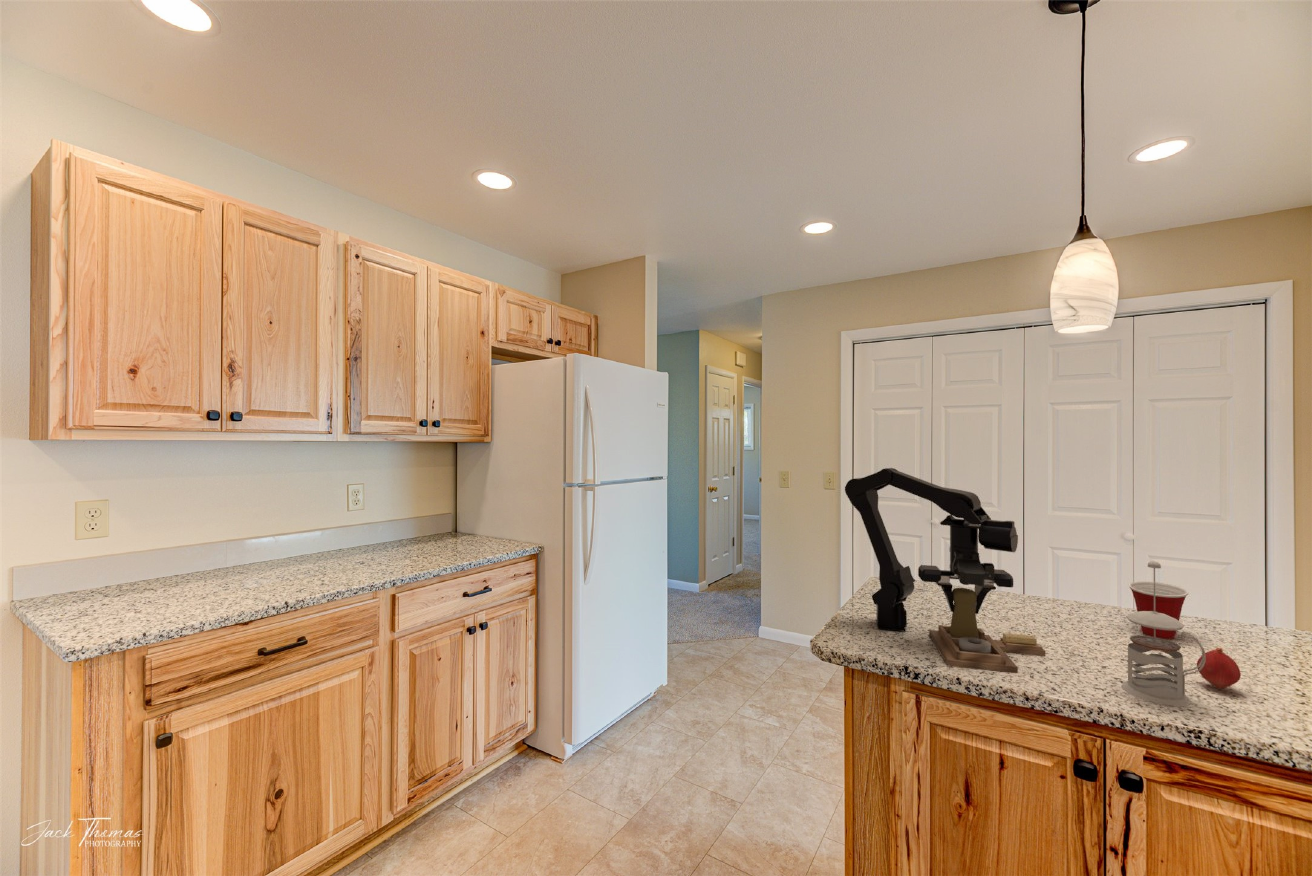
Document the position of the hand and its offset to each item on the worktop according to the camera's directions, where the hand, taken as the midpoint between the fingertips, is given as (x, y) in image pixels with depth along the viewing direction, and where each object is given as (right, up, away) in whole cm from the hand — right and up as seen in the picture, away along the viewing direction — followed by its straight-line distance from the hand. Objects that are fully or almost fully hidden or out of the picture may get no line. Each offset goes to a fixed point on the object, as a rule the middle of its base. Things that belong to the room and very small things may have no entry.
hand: (963, 612), depth 126 cm
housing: (+3, -8, -5) cm, 10 cm away
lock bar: (+11, -6, -3) cm, 13 cm away
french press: (+23, -8, -25) cm, 35 cm away
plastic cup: (+51, -8, +6) cm, 52 cm away
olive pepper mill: (0, -6, 0) cm, 6 cm away
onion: (+36, -8, -22) cm, 43 cm away
